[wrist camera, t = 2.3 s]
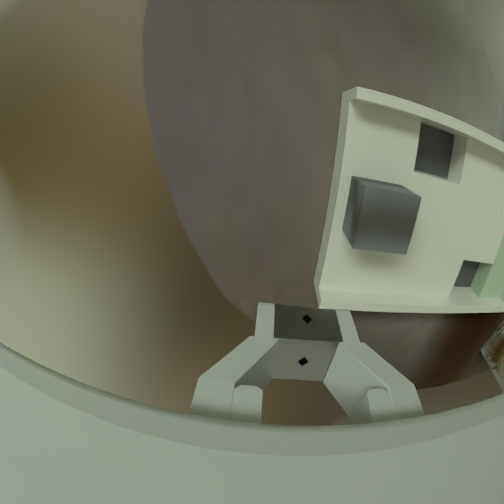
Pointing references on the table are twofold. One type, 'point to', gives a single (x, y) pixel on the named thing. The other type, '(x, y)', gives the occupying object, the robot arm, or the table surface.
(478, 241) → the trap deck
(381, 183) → the block
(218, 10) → the table surface
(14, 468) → the robot arm
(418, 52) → the table surface
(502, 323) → the coffee box
